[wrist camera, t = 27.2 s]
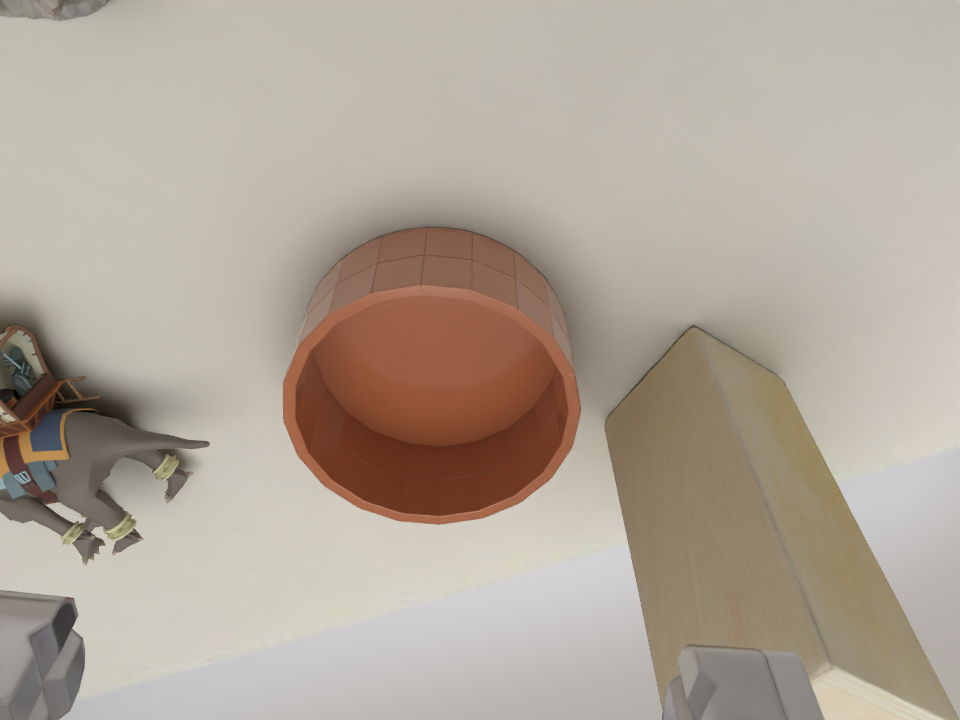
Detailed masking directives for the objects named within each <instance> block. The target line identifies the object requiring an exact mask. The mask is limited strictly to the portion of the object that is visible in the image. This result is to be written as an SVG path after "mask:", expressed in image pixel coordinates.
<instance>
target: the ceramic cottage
mask: <svg viewBox="0 0 960 720" xmlns="http://www.w3.org/2000/svg"><path fill="white" fill-rule="evenodd" d="M107 1H108V0H0V15H2V16H7V17H25V16H27V17H28V18H33V19H35V18H44V19H52V20H60V21H61V20H66V19H71V18H76V17H81V16H87V15H89V14H91V13H93V12H96V11H97V10H98V9H99V8H101V7H102V6H104V5H105V4H106V3H107Z"/></svg>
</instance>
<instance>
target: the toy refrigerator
mask: <svg viewBox="0 0 960 720" xmlns="http://www.w3.org/2000/svg"><path fill="white" fill-rule="evenodd" d="M605 432H606V438H607V442H608V447H609V452H610V457H611V462H612V467H613V472H614V477H615V482H616V486H617V491H618V496H619V501H620V505H621V510H622V515H623V520H624V525H625V529H626V534H627V539H628V544H629V549H630V553H631V558H632V563H633V568H634V572H635V577H636V582H637V587H638V592H639V596H640V601H641V607H642V612H643V617H644V622H645V626H646V631H647V637H648V642H649V646H650V651H651V656H652V661H653V666H654V671H655V676H656V681H657V686H658V691H659V696H660V701H661V706H662V710H663V702H664V696H665V693H666V690H667V687H668V684H669V682H670V681H671V680H673V679H674V678H676V677H677V676H679V675H680V671H679V667H678V662H677V660H678V658H679V655H680V653H681V650H682V649H683V648H684V647H685V646H686V645H687V644H695V645H710V646H726V647H742V648H755V649H757V650H773V651H786V652H795V653H796V654H797V655H798V656H799V657H800V658H801V659H802V662H803V664H804V667H805V669H806V672H807V675H808V677H809V680H810V682H811V685H812V688H813V690H814V693H815V695H816V698H817V700H818V703H819V706H820V708H821V711H822V713H823V716H824V719H825V720H959V718H958V716H957V714H956V712H955V710H954V708H953V706H952V704H951V702H950V700H949V698H948V697H947V695H946V693H945V691H944V689H943V687H942V685H941V683H940V681H939V679H938V677H937V675H936V674H935V672H934V670H933V668H932V666H931V664H930V662H929V660H928V658H927V656H926V655H925V653H924V651H923V649H922V647H921V645H920V643H919V641H918V639H917V637H916V635H915V633H914V631H913V629H912V627H911V625H910V623H909V621H908V619H907V617H906V615H905V614H904V612H903V610H902V608H901V606H900V604H899V602H898V600H897V598H896V596H895V594H894V592H893V591H892V589H891V587H890V585H889V583H888V581H887V579H886V577H885V575H884V573H883V571H882V569H881V568H880V566H879V564H878V562H877V560H876V558H875V557H874V555H873V553H872V551H871V549H870V547H869V545H868V543H867V541H866V540H865V538H864V536H863V534H862V532H861V530H860V528H859V526H858V524H857V522H856V520H855V518H854V516H853V515H852V513H851V511H850V509H849V507H848V505H847V503H846V501H845V499H844V497H843V495H842V493H841V491H840V489H839V487H838V485H837V483H836V481H835V479H834V478H833V476H832V474H831V472H830V470H829V468H828V466H827V464H826V462H825V460H824V458H823V456H822V454H821V452H820V450H819V449H818V447H817V445H816V443H815V441H814V439H813V437H812V435H811V433H810V431H809V430H808V428H807V426H806V424H805V422H804V420H803V418H802V416H801V414H800V412H799V410H798V408H797V406H796V404H795V402H794V400H793V398H792V396H791V394H790V392H789V390H788V388H787V386H786V384H785V383H784V382H783V380H781V379H780V378H779V377H778V376H776V375H775V374H773V373H772V372H770V371H769V370H767V369H765V368H764V367H762V366H761V365H759V364H757V363H756V362H754V361H752V360H750V359H749V358H747V357H745V356H744V355H742V354H740V353H739V352H737V351H735V350H734V349H732V348H730V347H729V346H727V345H725V344H724V343H722V342H720V341H718V340H717V339H715V338H713V337H712V336H710V335H708V334H706V333H705V332H703V331H701V330H699V329H697V328H695V327H692V328H691V329H689V330H688V331H687V332H686V333H685V334H684V335H683V336H682V337H681V338H680V339H679V340H678V341H677V342H676V343H675V345H674V346H673V347H672V348H671V349H670V350H669V351H668V352H667V353H666V355H665V356H664V357H663V358H662V359H661V360H660V361H659V362H658V363H657V364H656V365H655V367H654V368H653V369H652V370H651V371H650V372H649V373H648V374H647V375H646V376H645V377H644V379H643V380H642V381H641V382H640V383H639V384H638V385H637V386H636V387H635V388H634V390H633V391H632V392H631V393H630V394H629V395H628V396H627V397H626V398H625V399H624V400H623V401H622V402H621V403H620V405H619V406H618V407H617V408H616V409H615V410H614V411H613V412H612V413H611V415H610V416H609V417H608V419H607V420H606V422H605Z"/></svg>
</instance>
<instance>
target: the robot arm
mask: <svg viewBox="0 0 960 720" xmlns="http://www.w3.org/2000/svg"><path fill="white" fill-rule="evenodd" d="M77 617H78V612H77V608H76V604H75V600H74V598H70V597H61V596H51V595H42V594H32V593H23V592H13V591H3V590H0V720H59V719H60V718H62V717H63V716H64V715H65V714H67V713H68V712H69V711H70V710H71V708H72V705H73V703H74V701H75V698H76V696H77V694H78V691H79V688H80V684H81V679H82V675H83V671H84V665H85V648H84V642H83V638H82V637H81V636H80V635H79V634H78V633H76V632H75V631H74V630H73V629H72V627H73V625H74V623H75V621H76V619H77ZM677 662H678V667H679V671H680V675H679V676H677V677H676V678H674V679H673V680H671V681H670V682H669V684H668V687H667V690H666V693H665V696H664V702H663V713H662V720H825V719H824V716H823V713H822V711H821V708H820V706H819V703H818V700H817V698H816V695H815V693H814V690H813V688H812V685H811V682H810V680H809V677H808V675H807V672H806V669H805V667H804V664H803V662H802V659H801V658H800V657H799V656H798V655H797V654H796V653H795V652H786V651H773V650H757V649H755V648H742V647H726V646H710V645H695V644H687V645H686V646H685V647H684V648H683V649H682V650H681V653H680V655H679V658H678V660H677Z"/></svg>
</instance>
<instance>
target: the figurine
mask: <svg viewBox="0 0 960 720" xmlns="http://www.w3.org/2000/svg"><path fill="white" fill-rule="evenodd" d="M5 331H6V332H4V333H0V512H1V513H2V514H4V515H5V516H6V517H7V518H8V519H10V520H15V521H18V522H21V523H25V522H28V521H32V520H33V521H35V522H37V523H39V524H41V525H43V526H46V527H48V528H50V529H51V530H53V531H55V532H56V533H58V534H60V535H62V537H61V539H63V540H64V542H63V544H66V543H69V544H68V545H71V544H73V545H74V546H75V547H76V548H77V550H78V551H79V553H80V554H81V556H82V560H83V563H84V564H85V565H87V562H88V559H91V560H94V553H96V554H99V546H105V543H104V541H103V540H102V539H99V538H97V537H95V535H93V534H92V533H90V532H91V531H92V530H93V529H94V528H95V527H99V526H103V527H104V529H103V531H104V533H105V534H109V535H108V538H111V540H112V541H116V543H115V545H114V550H113V552H112V553H113V555H115V554H116V553H118V552H121V551H122V550H124V549H126V548H127V547H129V546H130V545H133V544H135V543H137V542H138V541H141V540H144V539H143V538H142V537H141V536H140V535H139V533H138V532H137V531H136V530H135V529H134V527H135V526H136V521H135V520H134V519H131V517H132V515H129V513H128V512H127V511H124V510H123V508H122V507H120V506H119V505H118V504H117V503H116V502H115V501H114V500H113V499H112V498H111V497H110V496H109V495H108V494H107V493H106V492H104V491H100V490H99V488H100V485H101V484H102V482H103V481H104V480H105V479H106V478H107V477H108V476H109V475H110V471H111V469H112V467H113V466H114V464H115V462H116V461H117V459H118V458H120V457H122V456H125V457H128V458H131V459H134V460H137V461H141V462H143V463H145V464H146V465H148V466H149V467H150V468H152V469H153V471H152V473H153V474H156V476H155V477H156V479H159V478H162V481H165V480H166V479H167V481H168V489H167V490H166V492H165V494H166V495H165V499H166V503H168V502H169V501H170V500H172V499H173V498H174V496H175V495H176V494H177V493H178V492H179V490H180V489H181V488H182V487H183V485H184V484H185V482H186V481H187V478H188V477H189V476H190V475H192V474H193V472H185V471H182V470H179V469H177V466H178V464H179V461H178V460H177V461H176V455H174V456H172V457H171V456H169V454H166V455H163V454H161V453H160V452H159V451H158V449H167V448H183V449H196V448H204V447H208V446H209V444H210V443H209V442H207V441H196V440H186V439H182V438H178V437H175V436H170V435H165V434H157V433H151V432H146V431H141V430H138V429H135V428H132V427H130V426H128V425H126V424H124V423H123V422H122V421H121V420H119V419H116V418H111V417H106V416H101V415H98V414H95V413H100V412H98V411H96V410H94V409H93V408H75V409H52V408H53V405H56V404H63V403H70V402H77V401H83V400H90V399H97V398H99V397H100V396H93V397H86V398H83V397H82V396H81V395H80V393H79V392H78V391H77V389H76V388H75V387H74V386H73V384H72V383H71V382H70V381H75V380H81V379H85V376H84V377H77V378H71V379H65V380H58V381H56V380H55V379H54V377H53V376H52V375H51V373H50V372H49V370H48V369H47V367H46V365H45V362H44V360H43V357H42V355H41V353H40V350H39V348H38V345H37V342H36V339H35V336H34V334H32V333H31V332H30V331H29V330H27V329H26V328H25V327H22V326H18V325H12V326H8V327H7V328H6V329H5ZM64 382H67V383H68V384H69V386H70V387H71V388H72V390H73V391H74V392H75V394H76V395H77V396H78V398H79V399H73V400H65V399H64V398H63V396H62V395H61V394H60V392H59V391H58V389H59V387H60V386H61V385H62V384H63V383H64ZM56 394H57V395H58V397H59V398H60V399H61V400H62V401H59V402H54V400H55V396H56ZM56 502H61V503H62V504H63V505H65V506H67V507H69V508H71V509H73V510H75V511H76V512H78V513H80V514H81V516H82V518H86V521H85V523H84V522H83V523H84V524H83V523H80V524H78V523H79V521H77V522H75V523H72V522H70V521H68V520H66V519H65V518H63V517H61V516H60V515H58V514H57V513H55V512H54V511H53V510H51V509H50V508H48V507H47V506H45V505H46V504H51V503H56Z"/></svg>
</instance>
